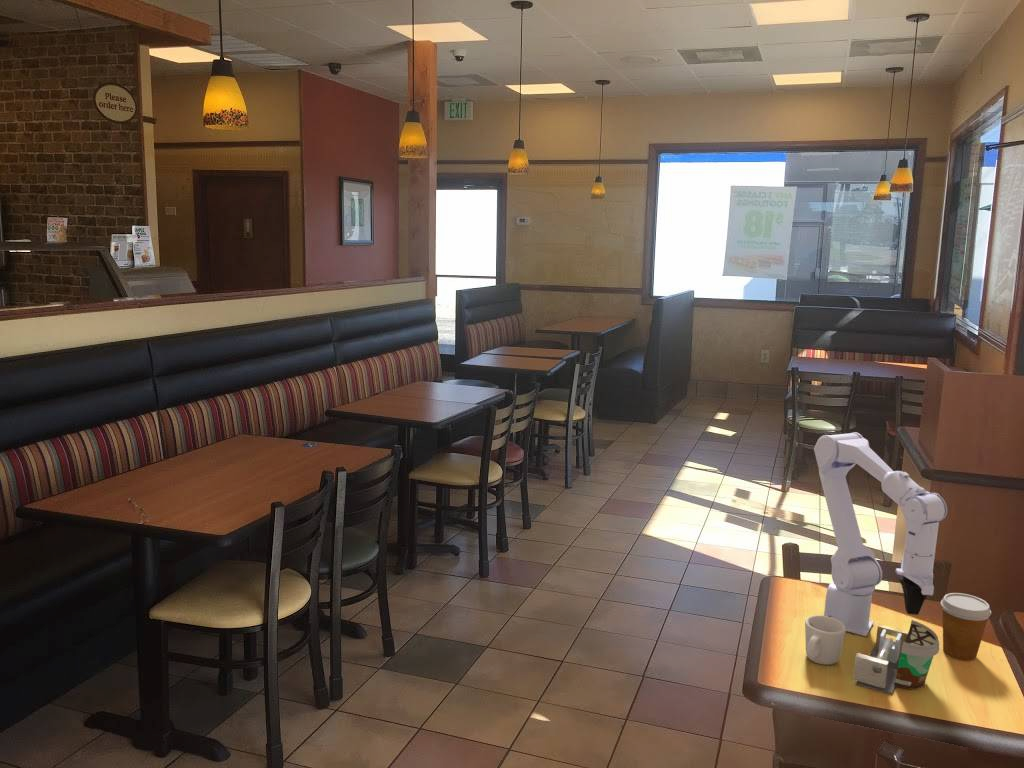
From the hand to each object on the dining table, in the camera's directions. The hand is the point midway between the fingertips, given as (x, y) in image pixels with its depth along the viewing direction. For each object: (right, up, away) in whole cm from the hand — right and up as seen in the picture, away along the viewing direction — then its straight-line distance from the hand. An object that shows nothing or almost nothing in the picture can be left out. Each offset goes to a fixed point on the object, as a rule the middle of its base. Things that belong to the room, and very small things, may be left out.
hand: (912, 612), depth 178 cm
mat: (-7, -11, -2) cm, 13 cm away
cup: (-19, -10, 0) cm, 22 cm away
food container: (-3, -12, -7) cm, 14 cm away
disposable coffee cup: (+12, -10, +5) cm, 17 cm away
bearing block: (-4, -10, +2) cm, 11 cm away
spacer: (-3, -7, +3) cm, 8 cm away
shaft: (-10, -10, -5) cm, 15 cm away
